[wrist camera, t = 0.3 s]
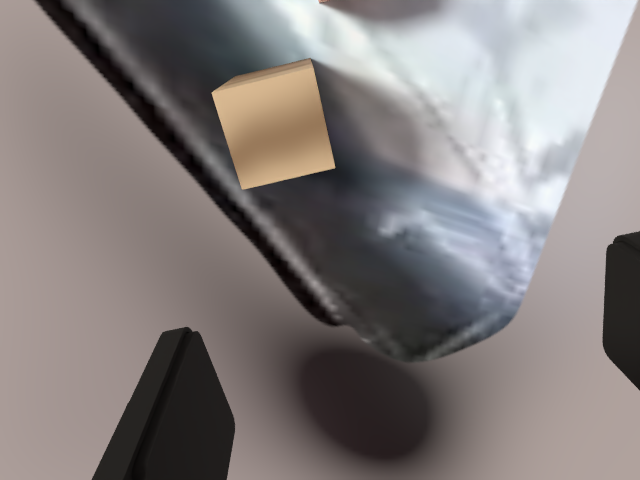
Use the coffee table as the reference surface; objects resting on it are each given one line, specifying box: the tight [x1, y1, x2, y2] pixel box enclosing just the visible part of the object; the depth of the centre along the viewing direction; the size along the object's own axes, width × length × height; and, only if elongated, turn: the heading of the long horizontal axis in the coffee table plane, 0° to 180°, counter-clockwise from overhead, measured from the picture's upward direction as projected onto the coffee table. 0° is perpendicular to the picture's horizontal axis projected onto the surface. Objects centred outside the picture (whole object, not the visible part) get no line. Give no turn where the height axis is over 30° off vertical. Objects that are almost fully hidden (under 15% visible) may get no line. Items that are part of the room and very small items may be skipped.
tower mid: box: [212, 62, 335, 190], centre depth 29 cm, size 6×6×5 cm
